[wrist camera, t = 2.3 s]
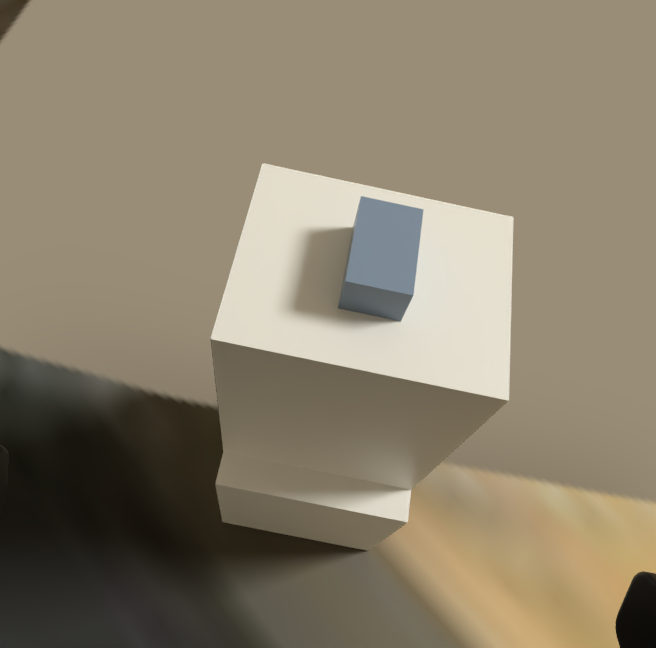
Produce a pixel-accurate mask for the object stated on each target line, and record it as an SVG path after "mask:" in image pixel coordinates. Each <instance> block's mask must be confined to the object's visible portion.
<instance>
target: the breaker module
mask: <svg viewBox="0 0 656 648" xmlns="http://www.w3.org/2000/svg"><path fill="white" fill-rule="evenodd" d="M512 249H513V217H511V216H506V215H501V214H497V213H492V212H487V211H483V210H478V209H473V208H469V207H464V206H459V205H455V204H450V203H445V202H441V201H436V200H431V199H427V198H422V197H418V196H413V195H408V194H404V193H399V192H394V191H389V190H384V189H380V188H376V187H371V186H366V185H362V184H357V183H352V182H347V181H343V180H338V179H334V178H329V177H325V176H320V175H315V174H311V173H306V172H301V171H296V170H292V169H287V168H283V167H278V166H273V165H269V164H264V163H263V164H262V167H261V170H260V174H259V177H258V180H257V184H256V187H255V191H254V194H253V198H252V201H251V204H250V207H249V211H248V214H247V218H246V221H245V224H244V228H243V232H242V234H241V238H240V241H239V245H238V248H237V251H236V255H235V258H234V262H233V265H232V268H231V272H230V275H229V278H228V282H227V285H226V289H225V292H224V296H223V299H222V302H221V306H220V309H219V312H218V316H217V319H216V322H215V326H214V329H213V332H212V336H211V348H212V357H213V365H214V374H215V383H216V392H217V399H218V400H217V401H218V409H219V418H220V427H221V436H222V445H223V455H222V459H221V463H220V467H219V471H218V475H217V479H216V483H215V486H216V491H217V496H218V502H219V507H220V512H221V517H222V522H225V523H230V524H235V525H240V526H245V527H250V528H255V529H260V530H265V531H270V532H275V533H280V534H285V535H290V536H295V537H300V538H305V539H311V540H316V541H321V542H326V543H331V544H336V545H341V546H346V547H351V548H356V549H361V550H366V551H369V550H371V549H372V548H373V547H375V546H376V545H377V544H379V543H380V542H381V541H383V540H384V539H386V538H387V537H388V536H390V535H391V534H392V533H394V532H395V531H397V530H398V529H399V528H401V527H402V526H403V525H405V524H406V523H407V522H408V515H409V505H410V495H411V489H413V488H414V487H415V486H416V485H417V484H418V483H419V482H420V481H421V480H422V479H423V478H425V477H426V476H427V475H428V474H429V473H430V472H431V471H432V470H433V469H434V468H436V467H437V466H438V465H439V464H440V463H441V462H442V461H443V460H444V459H445V458H446V457H448V456H449V455H450V454H451V453H452V452H453V451H454V450H455V449H456V448H457V447H459V445H461V444H462V443H463V442H464V441H465V440H466V439H467V438H468V437H469V436H470V435H472V434H473V433H474V432H475V431H476V430H477V429H478V428H479V427H480V426H482V425H483V424H484V423H485V422H486V421H487V420H488V419H489V418H490V417H491V416H493V414H495V413H496V412H497V411H498V410H499V409H500V408H501V407H502V406H503V405H505V404H506V403H507V402H508V401H509V374H510V373H509V372H510V333H511V292H512V253H513V252H512V251H513V250H512Z"/></svg>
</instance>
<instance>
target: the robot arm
mask: <svg viewBox="0 0 656 648" xmlns="http://www.w3.org/2000/svg"><path fill="white" fill-rule="evenodd" d="M8 466H9V454H8V451H7V449H6V448H5V447H4V446H0V516H1V514H2V512H3V510H4V507H5V504H6V499H7V485H8ZM616 634H617V638H618V642H619V645H620V648H656V574H655V573H649V572H640V573H638V574H636V575H635V576H634V578H633V580H632V582H631V584H630V586H629V589H628V591H627V593H626V596H625V598H624V600H623V603H622V605H621V607H620V610H619V612H618V615H617V618H616Z"/></svg>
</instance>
